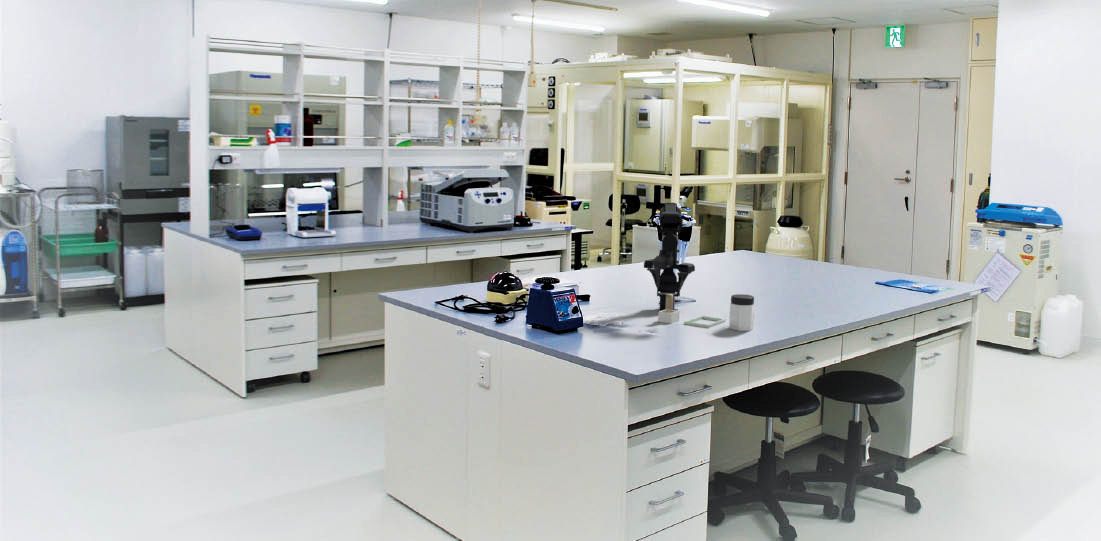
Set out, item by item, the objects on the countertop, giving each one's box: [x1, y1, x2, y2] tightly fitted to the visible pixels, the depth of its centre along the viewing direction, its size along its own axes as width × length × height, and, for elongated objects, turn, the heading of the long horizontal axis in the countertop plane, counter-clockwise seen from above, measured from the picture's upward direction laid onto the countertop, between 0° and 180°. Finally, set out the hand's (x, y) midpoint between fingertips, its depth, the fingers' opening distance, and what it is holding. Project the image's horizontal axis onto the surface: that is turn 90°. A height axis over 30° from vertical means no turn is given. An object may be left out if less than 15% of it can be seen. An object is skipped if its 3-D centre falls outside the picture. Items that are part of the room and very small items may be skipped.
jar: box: [728, 293, 755, 332], centre depth 323 cm, size 9×8×12 cm
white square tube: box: [657, 310, 680, 324], centre depth 331 cm, size 6×6×4 cm
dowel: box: [665, 294, 673, 313], centre depth 331 cm, size 3×3×10 cm
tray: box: [683, 315, 727, 329], centre depth 329 cm, size 14×10×2 cm
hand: (668, 288), depth 330 cm, fingers open, 9 cm apart
